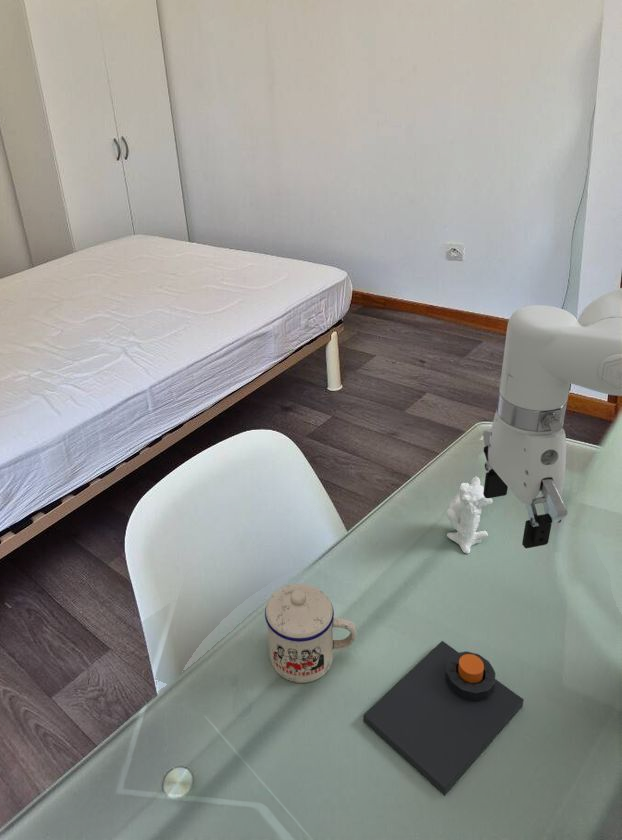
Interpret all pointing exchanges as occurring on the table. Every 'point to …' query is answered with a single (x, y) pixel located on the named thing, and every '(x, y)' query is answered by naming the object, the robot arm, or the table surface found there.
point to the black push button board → (442, 716)
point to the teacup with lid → (303, 632)
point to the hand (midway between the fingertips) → (513, 519)
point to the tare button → (471, 668)
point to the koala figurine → (467, 514)
